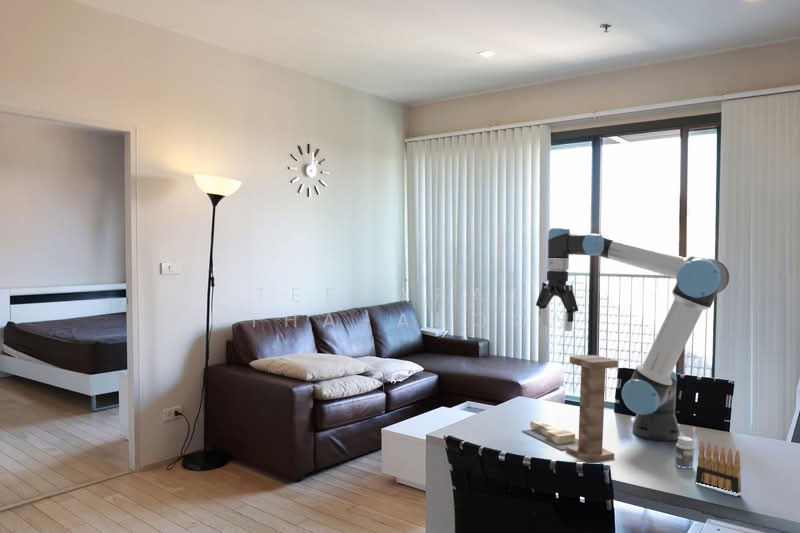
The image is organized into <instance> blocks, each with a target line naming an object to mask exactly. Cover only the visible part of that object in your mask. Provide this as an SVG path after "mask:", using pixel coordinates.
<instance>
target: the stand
mask: <svg viewBox="0 0 800 533" xmlns="http://www.w3.org/2000/svg"><path fill="white" fill-rule="evenodd" d="M569 364H572V365H576V366H580V390H579V392H580V393H579V416H578V420H579V421H578V424H579V425H578V445H575V446H568V447H566V450H565V452H566V453H569V454H570V455H572V456H575V457H577V458H579V459H581V460H583V461H585V462H587V463H589V462H590V463H594V462H595V463H597V462H599V461H600V462H601V461H607V460H613V459H615V453H614V452H612V451H610V450H607V449H606V448H603V443H604V442H603V441H604V439H603V438H604V437H603V436H604V420H605V419H604V415H605V414H604V413H605V390H606V389H605V387H606V386H605V385H606V369H612V368H615V369H616V368H618V367H619V360H616V359H613V358H608V357H603V356H600V355H596V354H589V355H586V354H585V355H573V356H569Z"/></svg>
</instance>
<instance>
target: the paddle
mask: <svg viewBox="0 0 800 533" xmlns="http://www.w3.org/2000/svg"><path fill="white" fill-rule="evenodd" d="M529 425H530V426H529V428H530V429H534V430H536V431H538V432H540V433H542V434H544V435H546V438H547V439H549V440H551V441H553V442H555V443H557V444H562V443H568V442H575V438H576V433H574V432H571V431H569V430H568V429H565V428H559V429H558V428H556V427H554V426H552V425H551V424H550V425H549V424H547V423H545V422H542V421H541V420H539V419H536V420H534V419H533V420H530V424H529Z"/></svg>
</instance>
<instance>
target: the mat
mask: <svg viewBox="0 0 800 533" xmlns="http://www.w3.org/2000/svg"><path fill="white" fill-rule="evenodd" d="M521 432H522V433H525V434H527V436H528V435H529V436H530V437H533V438H535V439H537V440H538V441H541V442H543V443H545V444H546V445H548V446H551V447H552V448H555V449H557V450H559V451H560V452H562V451H566V447H568V446H575V445H578V440H579V438H576V437H575V442H568V443H562V444H557V443H555V442H553V441H551V440H549V439H547V438H546V435H544V434H542V433H540V432H538V431H536V430H534V429H532V428H530V429H525V430H524V429H523V430H522V431H521Z"/></svg>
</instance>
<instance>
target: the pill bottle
mask: <svg viewBox="0 0 800 533" xmlns="http://www.w3.org/2000/svg"><path fill="white" fill-rule="evenodd" d="M676 441H677V443H676V444H675V458H674V459H675V460H674V462H675V463H674V464H675V466H676V465H677V467H678V466H680V467H685V468H689V467H692V466H693V467H694V451H695V448H694V446H693V444H694V443H693V441H694V440H693V438H691V437H689V436H684V435H680V436H679V437H678V440H676ZM680 467H679V468H680ZM685 468H684V469H685Z"/></svg>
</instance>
